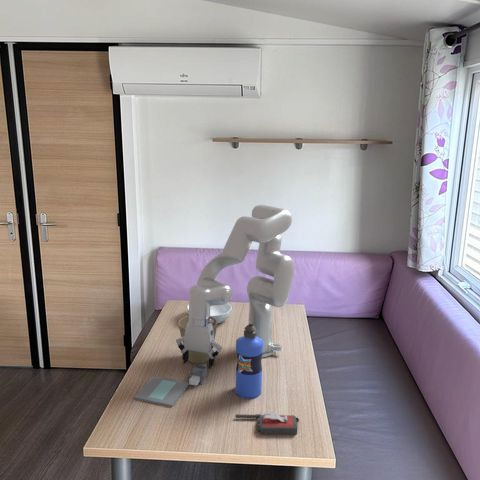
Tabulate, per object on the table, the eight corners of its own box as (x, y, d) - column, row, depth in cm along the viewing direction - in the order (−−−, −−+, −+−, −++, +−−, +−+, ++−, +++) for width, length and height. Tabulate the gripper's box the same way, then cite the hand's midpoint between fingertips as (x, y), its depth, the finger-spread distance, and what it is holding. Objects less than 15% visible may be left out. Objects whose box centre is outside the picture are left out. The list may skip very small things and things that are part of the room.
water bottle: (253, 402, 156) (255, 333, 149) (229, 393, 160) (231, 326, 154) (266, 389, 163) (269, 323, 157) (244, 381, 168) (245, 317, 162)
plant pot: (213, 348, 191) (214, 312, 187) (220, 367, 177) (220, 328, 173) (177, 351, 188) (177, 315, 184) (180, 370, 174) (180, 331, 170)
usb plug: (198, 373, 173) (198, 362, 172) (208, 374, 172) (208, 364, 171) (187, 387, 164) (187, 376, 163) (198, 389, 163) (198, 378, 161)
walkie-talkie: (297, 418, 148) (235, 417, 148) (298, 406, 147) (235, 405, 147) (301, 436, 140) (234, 435, 140) (302, 423, 139) (235, 423, 139)
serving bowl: (230, 330, 209) (231, 316, 207) (184, 329, 209) (184, 315, 207) (232, 311, 229) (232, 298, 227) (189, 310, 229) (189, 297, 227)
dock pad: (189, 384, 165) (189, 382, 165) (172, 407, 152) (172, 404, 152) (153, 377, 169) (153, 375, 169) (134, 399, 156) (134, 396, 156)
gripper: (226, 320, 164) (224, 364, 168) (181, 312, 169) (180, 355, 173) (218, 328, 157) (217, 374, 161) (172, 320, 162) (171, 365, 166)
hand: (198, 364), depth 167 cm, fingers open, 9 cm apart
